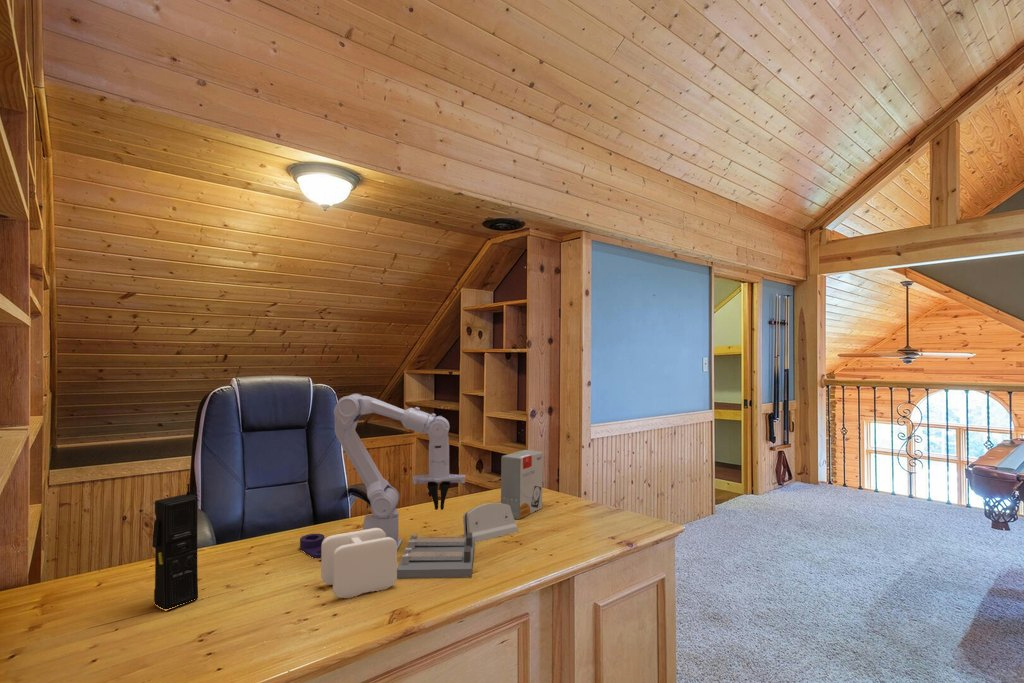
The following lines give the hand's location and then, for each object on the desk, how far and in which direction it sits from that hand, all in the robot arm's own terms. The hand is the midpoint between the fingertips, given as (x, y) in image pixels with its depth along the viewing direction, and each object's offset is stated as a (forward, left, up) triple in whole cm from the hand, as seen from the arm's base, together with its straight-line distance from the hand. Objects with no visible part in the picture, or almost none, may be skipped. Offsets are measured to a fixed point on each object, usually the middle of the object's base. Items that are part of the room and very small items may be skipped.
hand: (439, 508), depth 148 cm
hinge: (+14, +9, -11) cm, 20 cm away
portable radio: (-54, -32, -11) cm, 64 cm away
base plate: (+1, -10, -10) cm, 14 cm away
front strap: (0, -15, -8) cm, 17 cm away
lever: (-34, -3, -11) cm, 36 cm away
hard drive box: (+25, +30, -11) cm, 40 cm away
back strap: (0, -5, -8) cm, 10 cm away
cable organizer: (-16, -25, -11) cm, 32 cm away
